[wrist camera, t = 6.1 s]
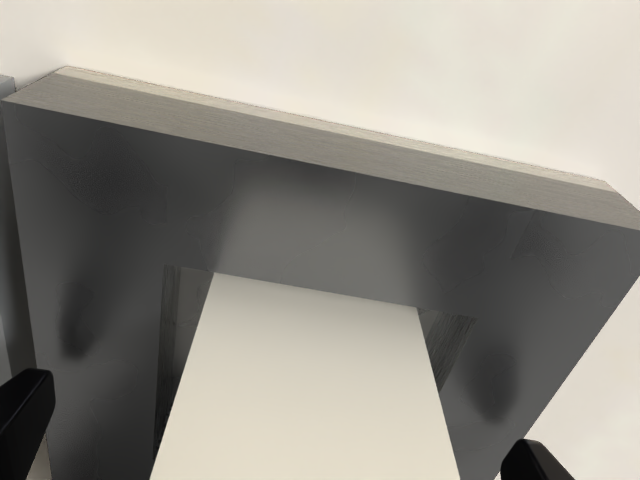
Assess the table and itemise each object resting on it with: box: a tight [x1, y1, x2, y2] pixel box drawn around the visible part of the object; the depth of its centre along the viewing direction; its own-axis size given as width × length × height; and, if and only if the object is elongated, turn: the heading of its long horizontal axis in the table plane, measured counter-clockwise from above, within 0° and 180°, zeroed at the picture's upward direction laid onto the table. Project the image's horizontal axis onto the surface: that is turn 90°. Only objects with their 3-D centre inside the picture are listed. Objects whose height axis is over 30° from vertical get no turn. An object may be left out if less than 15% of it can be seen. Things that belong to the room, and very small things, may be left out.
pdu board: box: [1, 66, 640, 480], centre depth 13 cm, size 18×10×2 cm, turn 168°
